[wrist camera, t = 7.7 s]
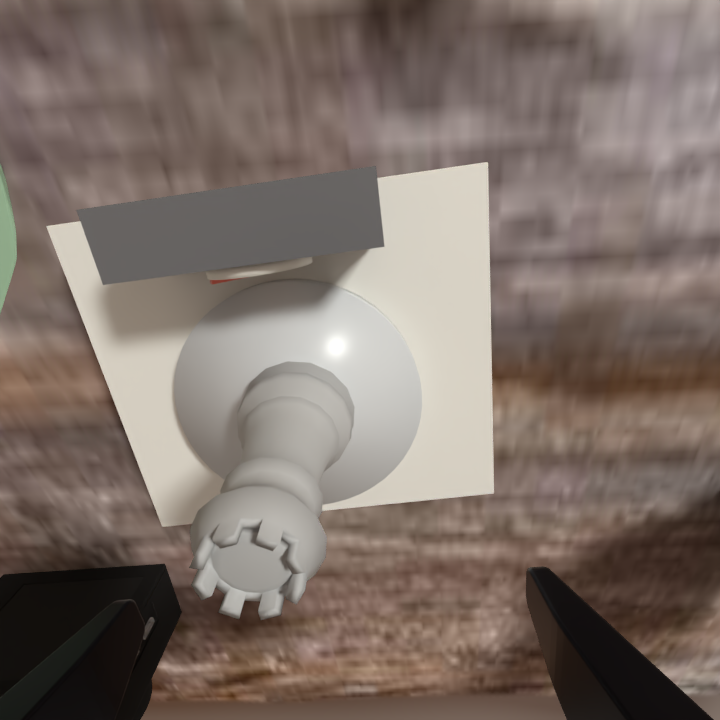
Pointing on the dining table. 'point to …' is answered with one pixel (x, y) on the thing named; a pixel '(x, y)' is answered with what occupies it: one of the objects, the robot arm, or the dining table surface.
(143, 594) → the digital camera
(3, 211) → the plant
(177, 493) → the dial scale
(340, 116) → the dining table surface
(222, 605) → the rook chess piece
